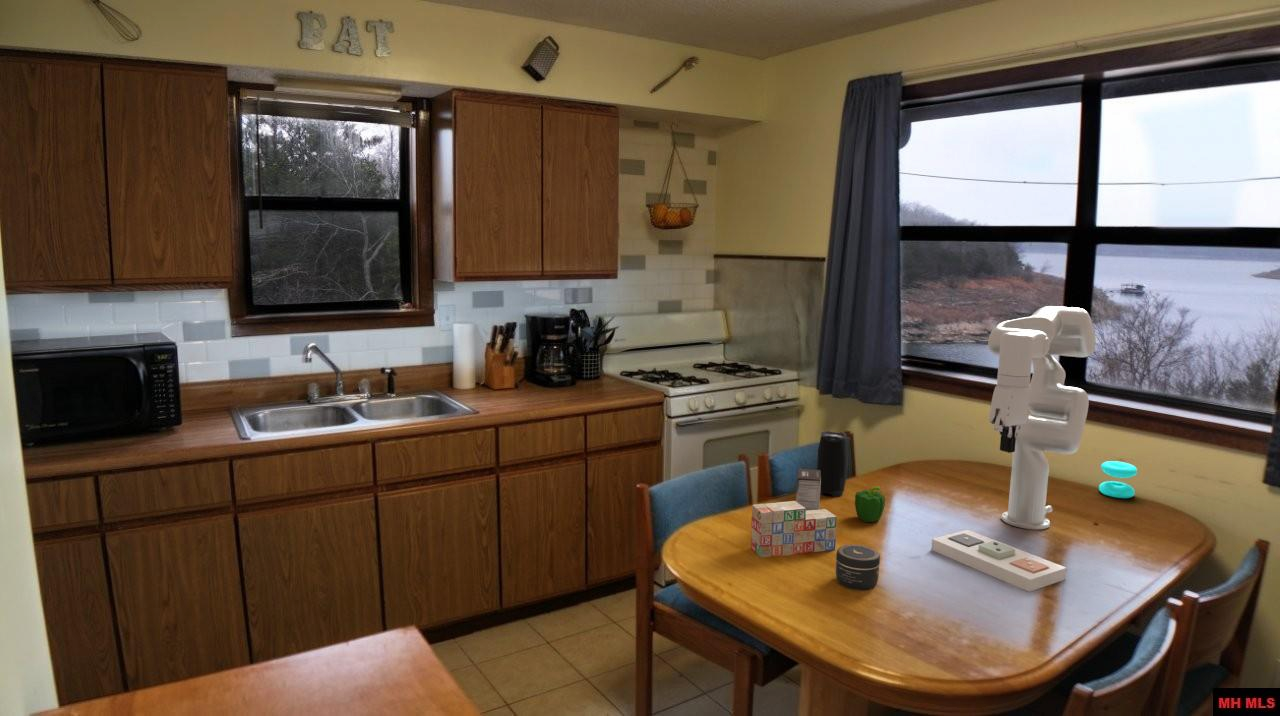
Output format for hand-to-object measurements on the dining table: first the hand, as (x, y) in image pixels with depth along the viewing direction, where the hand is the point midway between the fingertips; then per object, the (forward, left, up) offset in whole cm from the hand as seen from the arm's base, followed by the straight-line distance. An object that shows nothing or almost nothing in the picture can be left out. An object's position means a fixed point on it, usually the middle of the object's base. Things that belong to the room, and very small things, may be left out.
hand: (1007, 451), depth 204 cm
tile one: (+8, -4, -26) cm, 28 cm away
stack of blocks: (+47, -26, -28) cm, 61 cm away
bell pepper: (+13, -33, -27) cm, 45 cm away
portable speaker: (+6, -56, -27) cm, 63 cm away
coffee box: (+34, -36, -27) cm, 57 cm away
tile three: (+8, +14, -26) cm, 31 cm away
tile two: (+8, +5, -25) cm, 27 cm away
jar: (+47, -4, -27) cm, 55 cm away
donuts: (-76, -12, -27) cm, 82 cm away
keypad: (+8, +5, -27) cm, 29 cm away
